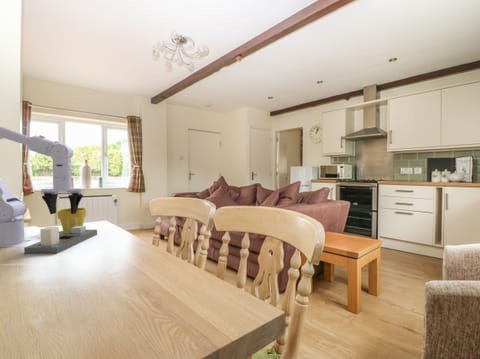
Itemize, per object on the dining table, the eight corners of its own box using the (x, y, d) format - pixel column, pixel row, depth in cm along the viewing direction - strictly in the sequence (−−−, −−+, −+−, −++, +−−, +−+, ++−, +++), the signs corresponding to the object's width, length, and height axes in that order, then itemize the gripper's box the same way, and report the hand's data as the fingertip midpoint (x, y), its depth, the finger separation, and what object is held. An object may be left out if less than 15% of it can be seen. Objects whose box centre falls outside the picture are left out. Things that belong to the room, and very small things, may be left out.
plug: (39, 251, 83) (38, 229, 83) (48, 247, 87) (48, 227, 87) (50, 251, 83) (49, 229, 83) (59, 247, 87) (58, 226, 87)
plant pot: (65, 236, 105) (65, 212, 105) (53, 232, 110) (52, 210, 110) (91, 230, 114) (91, 208, 114) (79, 228, 119) (78, 206, 119)
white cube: (71, 238, 100) (71, 228, 99) (76, 236, 103) (76, 226, 103) (80, 238, 100) (80, 227, 99) (85, 235, 103) (85, 225, 103)
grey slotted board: (24, 255, 81) (24, 247, 81) (72, 235, 105) (71, 229, 105) (56, 255, 82) (56, 247, 81) (97, 235, 105) (97, 229, 105)
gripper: (34, 177, 92) (35, 215, 93) (75, 177, 93) (76, 215, 93) (48, 176, 99) (49, 212, 100) (86, 176, 100) (87, 212, 100)
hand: (63, 213), depth 97 cm, fingers open, 7 cm apart
